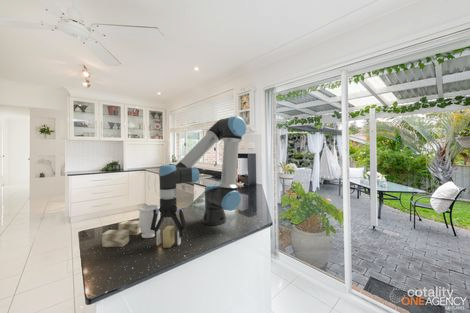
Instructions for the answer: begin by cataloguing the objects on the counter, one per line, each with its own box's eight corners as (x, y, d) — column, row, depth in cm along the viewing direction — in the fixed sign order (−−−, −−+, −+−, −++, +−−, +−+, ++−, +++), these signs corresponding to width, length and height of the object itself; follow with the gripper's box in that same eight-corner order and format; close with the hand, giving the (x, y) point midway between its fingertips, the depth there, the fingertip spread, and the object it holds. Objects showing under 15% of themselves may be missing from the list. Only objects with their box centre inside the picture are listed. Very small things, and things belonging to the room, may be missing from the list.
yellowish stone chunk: (174, 241, 100) (174, 225, 100) (170, 247, 94) (170, 230, 94) (167, 241, 100) (167, 225, 100) (163, 247, 94) (162, 230, 94)
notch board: (141, 231, 113) (141, 220, 113) (123, 246, 95) (122, 233, 95) (123, 231, 113) (123, 220, 113) (102, 246, 95) (101, 234, 95)
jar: (152, 240, 102) (152, 210, 101) (134, 238, 104) (134, 209, 103) (164, 231, 112) (163, 205, 112) (147, 230, 114) (147, 204, 114)
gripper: (192, 195, 100) (193, 240, 100) (148, 195, 100) (149, 240, 101) (189, 199, 92) (189, 247, 93) (141, 199, 93) (142, 247, 93)
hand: (168, 244), depth 97 cm, fingers open, 9 cm apart
